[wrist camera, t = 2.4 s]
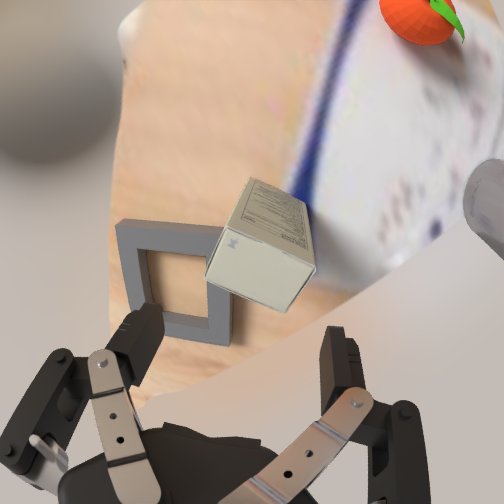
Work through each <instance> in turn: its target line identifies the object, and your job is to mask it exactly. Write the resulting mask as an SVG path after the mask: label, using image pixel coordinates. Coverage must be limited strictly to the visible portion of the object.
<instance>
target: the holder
mask: <svg viewBox="0 0 504 504" xmlns="http://www.w3.org/2000/svg"><path fill="white" fill-rule="evenodd" d="M115 229H116V236H117V242H118V249H119V255H120V260H121V266H122V271H123V277H124V282H125V287H126V291H127V296H128V301H129V305H130V309H131V312H132V311H134V310H140V308H141V307H142V305H143V304H144V302H152V303H153V297H152V291H151V285H150V278H149V271H148V264H147V257H146V249H147V250H155V251H164V252H172V253H180V254H189V255H198V256H206V268H207V265H208V263H209V260H210V258H211V256H212V253H213V251H214V249H215V247H216V244H217V242H218V240H219V238H220V236H221V234H222V232H223V230H224V227H214V226H203V225H192V224H181V223H170V222H158V221H146V220H133V219H123V220H121V221H120V222H119V223H118V224H116V225H115ZM207 298H208V318H203V317H197V316H191V315H185V314H179V313H173V312H167V311H162V313H163V319H164V325H165V333H164V335H165V336H170V337H175V338H180V339H185V340H191V341H196V342H202V343H208V344H214V345H221V346H227V347H229V346H230V342H231V339H232V319H233V293H232V292H229V291H227V290H225V289H223V288H220V287H218V286H216V285H214V284H212V283H210V282H208V281H207Z"/></svg>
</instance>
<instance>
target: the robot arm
mask: <svg viewBox="0 0 504 504" xmlns="http://www.w3.org/2000/svg"><path fill="white" fill-rule="evenodd" d="M464 214H465V218H466V221H467V223H468V225H469V226H470V228H471V229H472V230H473V231H474V232H475V233H476V234H477V235H478V236H479V237H480V238H481V239H482V240H484V241H485V242H486V243H487V244H488V245H489V246H490V247H491V248H492V249H493V250H494V251H495V252H496V253H497V254H498V255H499V256H500V257H501V258H502V259H503V260H504V161H502V160H499V159H491V160H487V161H485V162H484V163H482V164H481V165H479V166H478V167H477V168H476V169H475V171H474V172H473V173H472V175H471V177H470V179H469V181H468V183H467V186H466V189H465V194H464ZM164 333H165V325H164V319H163V313H162V307H161V305H160V304H158V303H152V302H144V304H143V305H142V307H141V308H140V310H134V311H132V312H131V313H129V314H128V315H127V316H126V317H125V319H124V320H123V322H122V324H121V325H120V326H119V328H118V329H117V331H116V332H115V334H114V335H113V337H112V338H111V340H110V342H109V343H108V344H107V346H106V347H105V349H101V350H98V351H95V352H93V353H92V354H91V355H90V356H89V357H74V356H73V354H72V352H71V351H70V350H68V349H65V348H60V349H57V350H55V351H53V352H52V353H51V354H50V355H49V357H48V358H47V360H46V361H45V363H44V364H43V366H42V367H41V369H40V370H39V372H38V374H37V375H36V377H35V378H34V380H33V381H32V383H31V385H30V386H29V388H28V389H27V391H26V393H25V395H24V396H23V398H22V399H21V401H20V403H19V405H18V406H17V408H16V410H15V412H14V413H13V415H12V417H11V418H10V420H9V422H8V424H7V426H6V428H5V429H4V431H3V433H2V435H1V437H0V462H1V463H2V464H3V465H4V466H6V467H7V468H8V469H9V470H10V471H11V472H12V473H14V474H15V475H16V476H18V477H19V478H21V479H22V480H23V481H25V482H26V483H29V484H30V485H32V486H33V487H35V488H37V489H39V490H46V491H49V492H50V493H52V494H54V495H56V496H58V502H59V504H318V503H317V501H315V499H314V498H313V497H312V496H311V494H310V493H309V492H308V490H307V488H308V487H309V486H310V485H311V484H312V483H313V482H314V481H315V480H316V479H317V478H318V477H319V476H320V475H321V473H322V472H323V471H324V470H325V469H326V468H327V466H328V465H329V464H330V463H331V462H332V461H333V459H334V458H335V457H336V456H337V455H338V454H339V453H340V451H341V450H342V449H343V448H344V447H345V445H346V444H347V443H348V442H349V441H352V442H356V443H359V444H363V445H366V446H368V504H431V496H430V483H429V473H428V464H427V456H426V448H425V442H424V435H423V429H422V423H421V417H420V412H419V409H418V408H417V406H416V405H415V404H413V403H412V402H410V401H407V400H400V401H398V402H396V403H395V404H393V406H392V405H388V404H385V403H381V402H378V401H376V400H374V399H373V397H372V395H371V394H370V393H369V392H368V391H367V390H366V386H365V380H364V375H363V369H362V364H361V357H360V352H359V348H358V345H357V344H356V342H355V341H354V339H353V338H345V332H344V328H343V327H337V326H327V329H326V332H325V336H324V339H323V343H322V346H321V350H320V358H319V362H320V383H321V384H320V386H321V416H322V417H321V418H320V419H319V420H318V421H315V422H313V423H312V424H311V425H310V426H309V427H308V428H307V429H306V430H305V431H304V432H303V433H302V434H301V435H300V436H299V437H298V438H297V439H296V440H295V441H294V442H293V443H292V444H291V445H289V446H288V447H287V448H286V449H285V450H284V451H283V452H282V453H281V454H280V455H277V454H276V453H275V452H273V451H272V450H270V449H268V448H266V447H263V446H260V445H261V440H260V439H251V438H243V437H219V438H218V437H217V438H210V437H207V436H205V435H203V434H200V433H198V432H196V431H194V430H192V429H190V428H187V427H183V426H179V425H175V424H171V423H167V422H164V424H163V427H162V428H152V429H147V430H143V428H142V426H141V424H140V421H139V418H138V415H137V413H136V410H135V407H134V404H133V401H132V398H131V395H130V392H129V389H130V387H131V385H134V386H137V387H139V386H140V384H141V382H142V380H143V378H144V376H145V374H146V372H147V370H148V368H149V366H150V364H151V362H152V360H153V358H154V356H155V354H156V352H157V350H158V348H159V346H160V344H161V342H162V340H163V337H164ZM89 399H91V400H92V405H93V410H94V414H95V418H96V423H97V427H98V431H99V435H100V438H101V442H102V446H103V449H104V452H103V453H101V454H99V455H97V456H95V457H93V458H91V459H89V460H87V461H85V462H84V463H81V464H79V465H77V466H75V467H73V468H71V469H70V470H68V456H67V454H66V452H65V451H66V448H67V446H68V444H69V442H70V439H71V437H72V435H73V433H74V430H75V428H76V426H77V424H78V422H79V419H80V417H81V415H82V413H83V411H84V409H85V407H86V405H87V403H88V401H89ZM67 470H68V471H67Z"/></svg>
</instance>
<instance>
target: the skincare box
mask: <svg viewBox="0 0 504 504" xmlns="http://www.w3.org/2000/svg"><path fill="white" fill-rule="evenodd" d="M316 270H317V267H316V261H315V255H314V249H313V243H312V236H311V231H310V225H309V219H308V214H307V208H306V204H305V203H304V202H302V201H300V200H298V199H297V198H295V197H293V196H291V195H289V194H287V193H285V192H283V191H281V190H279V189H276V188H274V187H272V186H270V185H268V184H266V183H263V182H261V181H259V180H256V179H254V178H251V177H250V178H249V179H248V181H247V183H246V185H245V187H244V189H243V191H242V193H241V195H240V197H239V199H238V201H237V203H236V205H235V207H234V209H233V211H232V213H231V215H230V217H229V219H228V221H227V223H226V225H225V227H224V230H223V232H222V234H221V236H220V238H219V240H218V242H217V244H216V247H215V249H214V251H213V253H212V256H211V258H210V260H209V263H208V265H207V268H206V271H205V273H204V276H203V278H204V279H205V280H206V281H208V282H210V283H212V284H214V285H216V286H218V287H220V288H223V289H225V290H227V291H229V292H232V293H234V294H236V295H239V296H241V297H243V298H245V299H248V300H250V301H253V302H255V303H258V304H260V305H263V306H265V307H268V308H270V309H273V310H276V311H278V312H281V313H286V312H287V310H288V309H289V308H290V306H291V305H292V304H293V303H294V301H295V300H296V299H297V297H298V296H299V295H300V293H301V292H302V290H303V289H304V288H305V286H306V285H307V284H308V282H309V281H310V279H311V278H312V276H313V275H314V273H315V272H316Z"/></svg>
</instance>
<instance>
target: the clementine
mask: <svg viewBox="0 0 504 504" xmlns="http://www.w3.org/2000/svg"><path fill="white" fill-rule="evenodd" d="M379 4H380V9H381V13H382V15H383V17H384V19H385V21H386V23H387V24H388V25H389V27H390V28H391V29H392V30H393V31H394V32H395V33H396V34H398V35H399V36H401V37H402V38H404V39H405V40H407V41H410V42H412V43H415V44H419V45H437V44H439V43H442V42H444V41H445V40H447V39H448V38H449V37H450V36H451V35H452V34H453V31H454V29H455V28H456V29H457V30H458V32H459V33H460V34H461V36H462V38H463V41H464V38H465V37H464V30H463V28H462V25H461V23H460V21H459V19H458V17H457V16H456V11H455V8H454V6H453V4H452V2H451V0H380V1H379ZM463 41H462V44H463Z"/></svg>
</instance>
